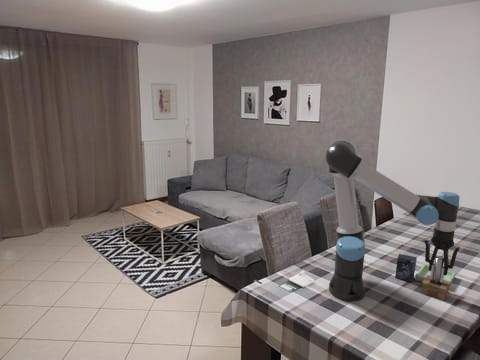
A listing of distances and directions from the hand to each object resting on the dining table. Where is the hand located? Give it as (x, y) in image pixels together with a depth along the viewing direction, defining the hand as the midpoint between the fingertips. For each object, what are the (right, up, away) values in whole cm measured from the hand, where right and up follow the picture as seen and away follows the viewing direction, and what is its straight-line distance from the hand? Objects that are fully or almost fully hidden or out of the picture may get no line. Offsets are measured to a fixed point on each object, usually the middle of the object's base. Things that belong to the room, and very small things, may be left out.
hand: (436, 279), depth 151 cm
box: (-7, -3, +14) cm, 16 cm away
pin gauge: (0, -5, +1) cm, 5 cm away
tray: (+7, -3, +14) cm, 16 cm away
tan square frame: (0, -6, +1) cm, 6 cm away
